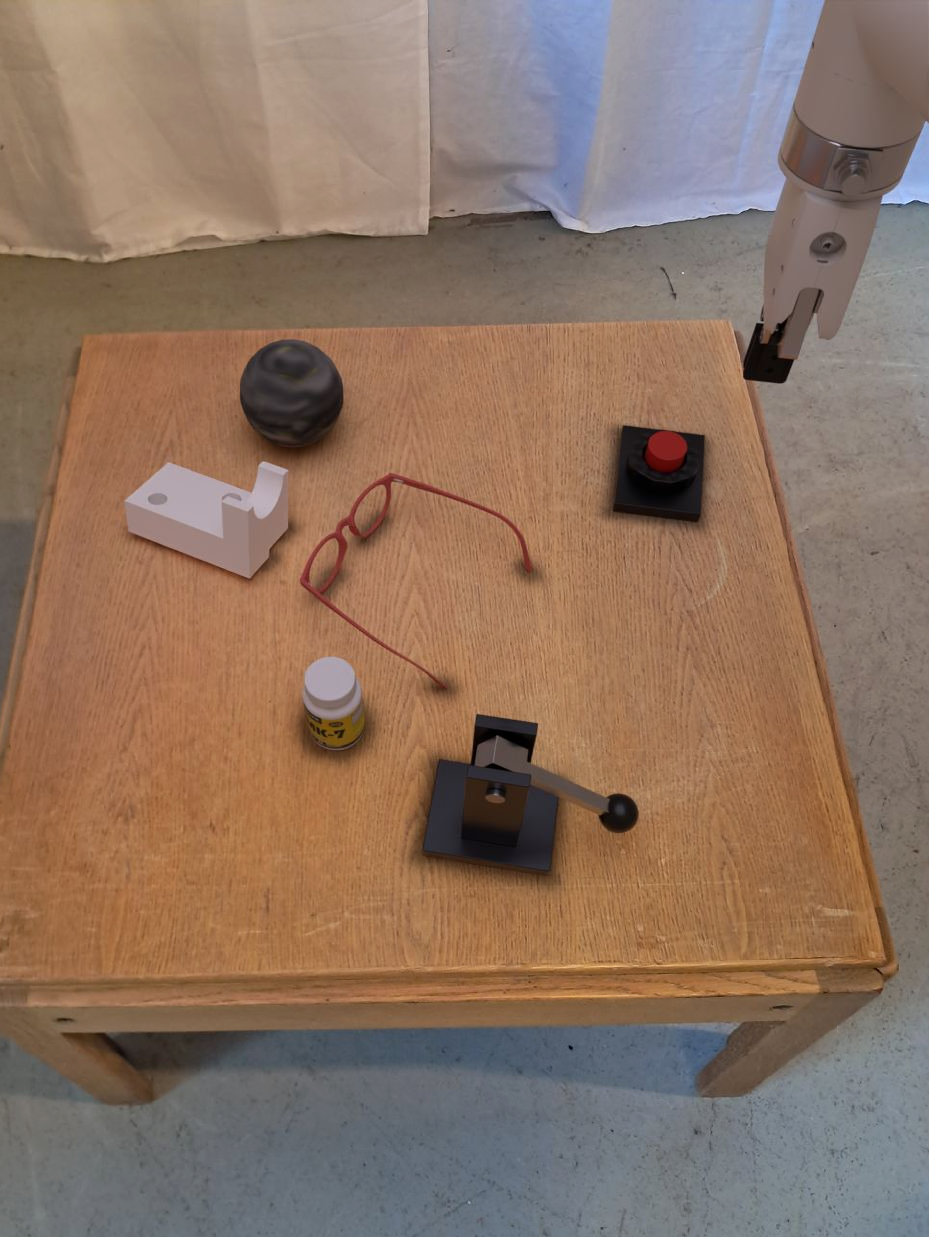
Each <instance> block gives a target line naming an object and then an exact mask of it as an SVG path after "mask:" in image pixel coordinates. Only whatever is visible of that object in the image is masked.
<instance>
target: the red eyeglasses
mask: <svg viewBox="0 0 929 1237" xmlns="http://www.w3.org/2000/svg"><path fill="white" fill-rule="evenodd" d="M393 482H394V483H398V484H402V485H405V486H408V487H412V488H415V489H418V490H422V491H425V492H428V493H431V494H435V495H439V496H442V497H445V498H447V499H448V498H449V499H450V500H453V501H456V502H459V503H462V504H464V505H467V506H470V507H473V508H475V509H478V510H480V511H483V512H485V513H487V514H490V515H493V517H496V518H498V519H500V520H501V521H503V522H504V523H505V524H507V526H509V527H510V528H511V529H512V532H514V534H515V535H516V537H517V539H518V541H519V544H520V547H521V552H522V557H523V558H522V559H523V564H524V568H525V570H526V572H529V573H531V572H532V570H533V569H532V564H531V559H530V555H529V550H528V547H527V544H526V541H525V539H524V537H523V536H524V535H523V534H522V533H521V531H520V530H519V529H518V527H517V526H516V525H515V524H514V523H513V522H512V521H511V520H510V519H509V518H507V516H504V515H503V514H501V513H500V512H498V511H496V510H494V509H491V508H489V507H486V506H484V505H482V504H479V503H478V502H474V501H472V500H469V499H466V498H463V497H461V496H458V495H456V494H452V493H450V492H448V491H444V490H442V489H439V488H437V487H435V486H432V485H430V484H427V483H424V482H421V481H418V480H415V479H411V478H408V477H406V476H404V475H400V474H396V473H393V472H389V473H388V474H386V475H385V476H383V477H381V478H379V479H377V480H376V481H375V482H372V483H371V484H370V485H369V486H368V487H367V488H365V489H364V491H362V493H360V495H359V496H358V497H357V498H356V500H355V502H354V503H353V506H352V507H351V510H350V511H349V512H350V513H349V515H348V516H346V517H344V518H343V519H341V520H340V521H339V522H337V525H336V527H335V531H334V532H332V533H329V534H328V535H326V536H325V537H323V539H322V540H320V542H319V543H318V544H317V545H316V547H315V548H314V550H313V551H312V553H311V555H310V556H309V558H308V560H307V562H306V564H305V566H304V569H303V572H302V573H301V575H300V578H299V583H300V585H301V587H302V588H304V589H305V590H306V591H308V592H309V593H310V594H311V595H312V596H314V597H315V598H316V599H317V600H318V601H320V602H321V603H322V604H324V606H325V607H327V608H328V609H329V610H331V611H332V612H334V614H336V615H337V616H339V617H340V618H342V619H344V620H345V621H346V622H347V623H348V624H349V625H351V626H353V627H354V628H355V629H356V630H358V631H359V632H361V633H362V634H363V635H364V636H366V637H368V638H369V639H370V640H372V641H373V642H374V643H376V644H378V645H379V646H381V647H382V648H383V649H386V650H387V651H389V652H391V653H392V654H394V655H396V656H397V657H399V658H400V659H403V660H405V661H406V662H407V663H408V662H409V663H410V664H411V665H413V666H414V667H416V668H418V669H419V670H421V671H422V672H424V673H425V674H426V675H427V676H428V677H429V678H431V679H432V680H433V681H434V682H436V683H437V684H438V685H439V686H441V687H443V688H444V689H448V688H449V686H447V685H446V684H445V683H443V682H442V681H441V680H439V679H438V678H437V677H436V676H434V675H433V674H432V673H430V671H428V670H426V669H425V668H424V667H422V666H421V665H419V664H418V663H416V662H415V661H413V660H412V659H410V658H408V657H407V656H405V655H403V654H401V653H400V652H399V651H397V650H395V649H393V648H392V647H390V646H389V645H387V644H386V643H384V642H383V641H382V640H380V639H378V638H377V637H376V636H374V635H373V634H371V633H370V632H369V631H367V630H366V629H365V628H364V627H362V625H360V624H359V623H357V622H355V620H353V619H351V618H350V617H349V616H348V615H347V614H345V612H343V611H341V610H340V609H339V608H338V607H336V605H334V603H332V602H331V601H330V600H328V599H327V598H326V597H325V596H323V595H322V593H323V592H325V591H326V590H327V589H328V588H329V587H330V586H331V584H332V583H333V581H334V580H335V578H336V576H337V574H338V572H339V570H340V568H341V566H342V564H343V561H344V559H345V556H346V552H347V550H348V541H347V539H346V537H345V536H344V534H343V529H344V528H345V527H347V526H348V530H349V531H350V533H351V534H352V535H353V536H355V537H358V538H367V537H369V536H370V535H372V534H373V533H374V532H375V531H376V530H377V529H378V528H379V526H380V525H381V524H382V522H383V521H384V519H385V517H386V515H387V513H388V511H389V508H390V503H391V499H392V483H393ZM379 486H383V487H384V488H385V493H386V494H385V503H384V505H383V508H382V511H381V513H380V516H379V517H378V519H377V520H376V522H375V523H374V524H373V526H371V528H370V529H369V530H367V531H366V532H364V533H361V532H360V530H359V528H358V526H357V523H356V520H355V516H356V513H357V510H358V508H359V507H360V506H359V505H361V503H362V501H363V499H364V498H365V497H366V496H367V495H368V494H369V493H370V492H371V491H372V490H374V489H375V488H377V487H379ZM333 539H335V541H337V545H338V554H337V558H336V559H337V560H336V563H335V566H334V568H333V571H332V573H331V575H330V577H329V578H328V579H327V581H326V582H325V584H324V585H323V586H322V587H320V588H318V589H316V588H314V587H313V585H312V584H311V580H310V576H311V575H310V573H311V568H312V565H313V563H314V561H315V558H316V557H317V555H318V553H319V552H320V551H321V549H322V548H323V547H324V546H325V545H326V543H327V542H329V541H331V540H333Z"/></svg>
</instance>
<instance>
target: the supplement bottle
mask: <svg viewBox="0 0 929 1237" xmlns="http://www.w3.org/2000/svg"><path fill="white" fill-rule="evenodd" d="M354 670H355V669H354V668H353V667H352V665H351V664H350V663H349V662H348V661H347V660H345V659H343V658H340V657H338V656H324V657H321V658H318V659H317V660H314V661H313V662H312V663H310V665H309V666H308V667H307V669H306V671H305V673H304V678H303V682H304V684H303V687H302V690H301V692H302V693H301V699H302V703H303V708H304V712H305V717H306V722H307V727H308V731H309V734H310V737H311V739H312V740H313V741H314V742H315V743H316V745H318V746H319V747H322V748H324V749H326V750H329V751H342V750H347V749H349V748H351V747H353V746H354V745H355V744H357V743H358V742H359V741H360V739H361V738H362V736H363V734H364V732H365V729H366V728H365V727H366V720H365V709H364V698H363V697H364V696H363V689H362V685H361V683H360V681H359V679H358V678H357V676H356V673H355V671H354Z"/></svg>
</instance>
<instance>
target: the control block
mask: <svg viewBox="0 0 929 1237" xmlns="http://www.w3.org/2000/svg"><path fill="white" fill-rule="evenodd" d="M661 431H670V432H674V433H677V434H678V435H680V436H681V437H682V438H683V439H684V440H685V441H686V444H687V451H686V454H685V457H684V460H683V463H682V465H681V466H680V468H678V469H677V470H675V471H673V472H659V471H656V470H654V469H653V468H651V467H650V466H649V465H648V464H647V462H646V460H645V453H646V449H647V445H648V442H649V439H650V438H651V436H652V435H654V434H655V433H658V432H661ZM705 440H706V434H699V433H692V432H685V431H684V432H682V431H676V430H669V429H661V428H660V429H659V428H650V427H644V426H643V427H642V426H633V425H627V424H623V425H622V427H621V432H620V440H619V448H618V449H619V450H618V458H617V469H616V478H615V488H614V497H613V507H612V512H618V513H623V514H624V513H625V514H633V515H640V516H648V517H656V518H664V519H670V520H677V521H685V522H695V523H698V522H699V520H700V517H701V514H702V498H703V477H704V459H705V442H706V441H705Z"/></svg>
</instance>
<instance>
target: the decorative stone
mask: <svg viewBox="0 0 929 1237" xmlns="http://www.w3.org/2000/svg"><path fill="white" fill-rule="evenodd" d="M340 374H341V373H340V372H339V370H338V369H337V366H336V364H335V363H334V361H333V360H332V358H331V357H329V355H328V354H326V353H325V351H323V350H322V349H321V348H319V347H318V346H316V345H314V344H312V343H309V342H307V341H305V340H301V339H300V340H299V339H295V338H292V339H280V340H275V341H273V342H269V343H268V344H266V345H264V346H262V347H260V349H258V350H257V351H256V352H255V353H254V355H252V356H251V357H250V358H249V360H248V361H247V363H246V365H245V367H244V369H243V372H242V374H241V377H240V382H239V402H240V406H241V409H242V411H243V414H244V416H245V418H246V420H247V422H248V424H249V425H250V427H251V428H253V429H254V431H255V432H256V433H257V434H258V435H259V436H261V438H263V439H264V440H266V441H268V442H270V443H272V444H274V445H276V446H281V447H287V448H301V447H306V446H309V445H313V444H314V443H316V442H318V441H320V440H321V439H323V438H325V437H326V436H327V435H328V433H329V432H330V431H331V430H332V429H333V428H334V427H335V425H337V422H338V420H339V418H340V415H341V413H342V410H343V406H344V382H343V379H342V376H341V375H340Z"/></svg>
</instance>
